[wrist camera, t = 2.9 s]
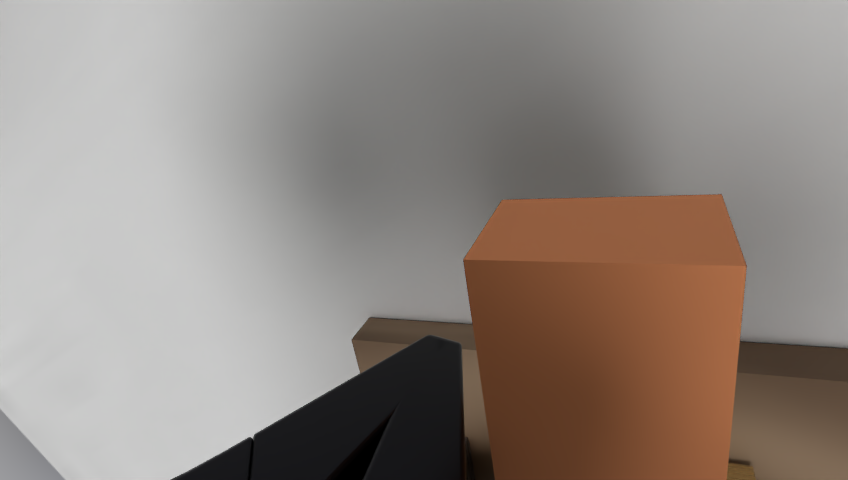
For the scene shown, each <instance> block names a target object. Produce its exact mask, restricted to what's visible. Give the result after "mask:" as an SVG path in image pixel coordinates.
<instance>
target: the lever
mask: <svg viewBox="0 0 848 480" xmlns="http://www.w3.org/2000/svg"><path fill="white" fill-rule="evenodd" d="M463 261H464V268H465V275H466V282H467V289H468V296H469V303H470V310H471V317H472V324H473V331H474V338H475V345H476V351H477V358H478V365H479V372H480V379H481V386H482V393H483V400H484V407H485V414H486V421H487V428H488V435H489V442H490V449H491V455H492V462H493V469H494V476H495V480H727V472H728V461H729V450H730V440H731V429H732V418H733V407H734V397H735V386H736V375H737V364H738V354H739V343H740V332H741V321H742V311H743V300H744V289H745V279H746V268H747V265H746V263H745V260H744V257H743V254H742V251H741V248H740V245H739V243H738V240H737V237H736V234H735V231H734V228H733V226H732V223H731V220H730V217H729V214H728V211H727V208H726V206H725V203H724V200H723V197H722V194H718V195H677V196H636V197H595V198H554V199H513V200H502V201H501V202H500V204H499V205H498V207H497V208H496V210H495V212H494V213H493V215H492V216H491V218H490V219H489V221H488V222H487V224H486V225H485V227H484V229H483V230H482V232H481V233H480V235H479V236H478V238H477V239H476V241H475V242H474V244H473V245H472V247H471V249H470V250H469V252H468V253H467V255H466V256H465V258H464V259H463Z"/></svg>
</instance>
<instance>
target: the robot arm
mask: <svg viewBox="0 0 848 480" xmlns="http://www.w3.org/2000/svg"><path fill="white" fill-rule="evenodd" d="M171 480H466V454H465V425H464V395H463V365H462V345H461V343H460V342H457V341H453V340H450V339H446V338H442V337H439V336H435V335H426V336H424V337H423V338H421V339H419V340H417V341H416V342H414V343H412V344H411V345H409V346H407V347H405V348H404V349H402V350H400V351H398V352H397V353H395V354H393V355H391V356H390V357H388V358H386V359H384V360H383V361H381V362H379V363H377V364H376V365H374V366H372V367H371V368H369V369H367V370H365V371H364V372H362V373H360V374H358V375H357V376H355V377H353V378H351V379H350V380H348V381H346V382H344V383H343V384H341V385H339V386H338V387H336V388H334V389H332V390H331V391H329V392H327V393H325V394H324V395H322V396H320V397H318V398H317V399H315V400H313V401H311V402H310V403H308V404H306V405H305V406H303V407H301V408H299V409H298V410H296V411H294V412H292V413H291V414H289V415H287V416H285V417H284V418H282V419H280V420H278V421H277V422H275V423H273V424H272V425H270V426H268V427H266V428H265V429H263V430H261V431H259V432H258V433H256V434H255V435H254V437H253V439H252V438H251V437H249V438H247V439H245V440H243V441H242V442H240V443H238V444H236V445H235V446H233V447H231V448H229V449H228V450H226V451H224V452H222V453H220V454H219V455H217V456H215V457H213V458H211V459H209V460H208V461H206V462H204V463H202V464H200V465H198V466H197V467H195V468H193V469H191V470H189V471H187V472H185V473H183V474H181V475H179V476H177V477H175V478H173V479H171Z"/></svg>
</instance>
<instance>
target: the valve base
mask: <svg viewBox="0 0 848 480" xmlns="http://www.w3.org/2000/svg"><path fill="white" fill-rule="evenodd" d="M426 335H435V336H439V337H442V338H446V339H450V340H453V341H457V342H460V343H461V345H462V365H463V395H464V425H465V454H466V480H495V476H494V469H493V462H492V455H491V449H490V442H489V435H488V428H487V421H486V414H485V407H484V400H483V393H482V386H481V379H480V372H479V365H478V358H477V351H476V345H475V338H474V331H473V325H472V324H457V323H442V322H426V321H411V320H395V319H380V318H369V319H368V320H367V321H366V323H365V324H364V325H363V326H362V327H361V329H360V330H359V331H358V332H357V334H356V335H355V336H354V337H353V339H352V343H353V347H354V351H355V355H356V359H357V362H358V366H359V370H360V373H362V372H364V371H365V370H367V369H369V368H371V367H372V366H374V365H376V364H377V363H379V362H381V361H383V360H384V359H386V358H388V357H390V356H391V355H393V354H395V353H397V352H398V351H400V350H402V349H404V348H405V347H407V346H409V345H411V344H412V343H414V342H416V341H417V340H419V339H421V338H423V337H424V336H426ZM727 480H848V349H843V348H827V347H812V346H796V345H781V344H765V343H750V342H740V343H739V354H738V364H737V375H736V386H735V397H734V407H733V418H732V429H731V440H730V450H729V461H728V472H727Z"/></svg>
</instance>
